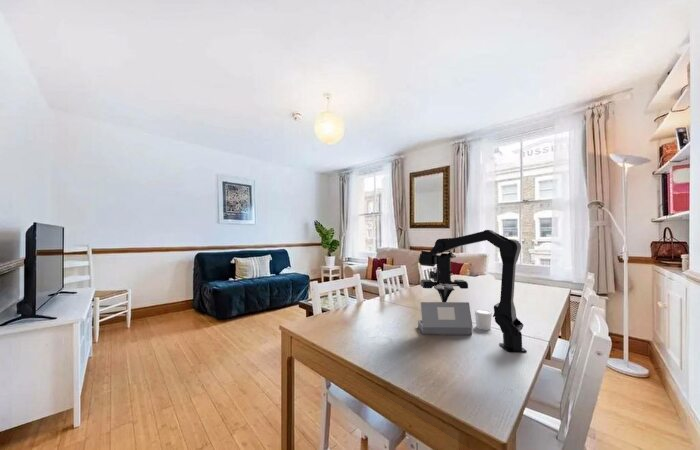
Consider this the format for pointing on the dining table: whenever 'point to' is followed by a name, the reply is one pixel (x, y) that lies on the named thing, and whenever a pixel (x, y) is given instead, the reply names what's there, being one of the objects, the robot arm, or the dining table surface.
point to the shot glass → (483, 319)
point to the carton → (443, 330)
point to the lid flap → (446, 314)
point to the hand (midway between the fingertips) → (443, 304)
